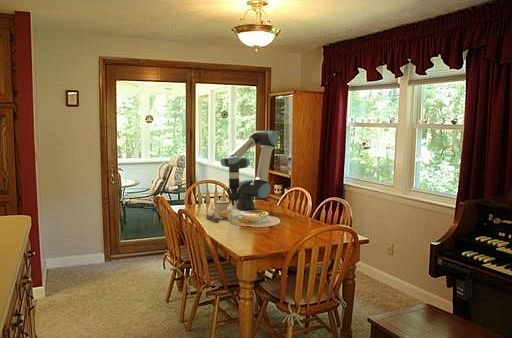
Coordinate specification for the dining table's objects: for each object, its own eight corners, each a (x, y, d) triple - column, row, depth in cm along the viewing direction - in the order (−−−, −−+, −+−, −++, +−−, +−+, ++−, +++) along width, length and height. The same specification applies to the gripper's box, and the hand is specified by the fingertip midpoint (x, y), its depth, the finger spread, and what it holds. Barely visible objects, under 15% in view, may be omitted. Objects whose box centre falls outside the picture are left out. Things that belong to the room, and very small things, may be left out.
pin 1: (220, 216, 327) (211, 211, 322) (221, 216, 325) (212, 211, 320) (218, 219, 326) (209, 214, 322) (220, 219, 324) (211, 214, 320)
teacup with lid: (227, 212, 350) (227, 197, 349) (228, 214, 341) (228, 199, 340) (211, 212, 348) (211, 197, 347) (212, 215, 339) (212, 199, 338)
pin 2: (230, 220, 323) (230, 208, 322) (231, 220, 321) (231, 208, 320) (227, 220, 322) (227, 208, 321) (228, 221, 320) (228, 209, 319)
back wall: (206, 218, 327) (206, 214, 327) (208, 218, 328) (208, 214, 328) (215, 222, 315) (215, 218, 315) (218, 222, 317) (218, 217, 316)
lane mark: (237, 215, 339) (237, 215, 339) (243, 217, 332) (243, 217, 332) (216, 218, 328) (216, 218, 328) (222, 220, 322) (222, 220, 322)
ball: (218, 211, 327) (220, 219, 328) (222, 212, 322) (224, 220, 324) (225, 208, 330) (226, 216, 332) (229, 210, 326) (231, 217, 327)
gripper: (238, 176, 335) (239, 207, 339) (223, 177, 328) (224, 209, 331) (244, 177, 329) (244, 209, 332) (229, 179, 322) (229, 211, 325)
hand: (234, 209), depth 332 cm, fingers closed
